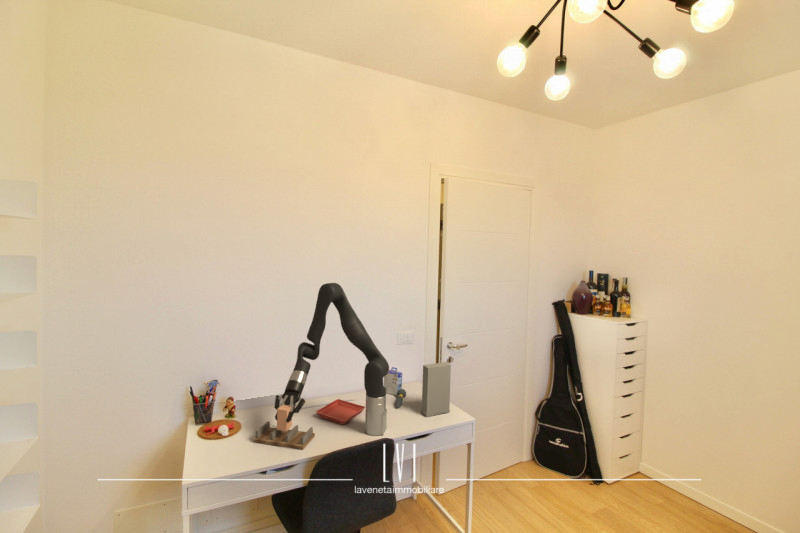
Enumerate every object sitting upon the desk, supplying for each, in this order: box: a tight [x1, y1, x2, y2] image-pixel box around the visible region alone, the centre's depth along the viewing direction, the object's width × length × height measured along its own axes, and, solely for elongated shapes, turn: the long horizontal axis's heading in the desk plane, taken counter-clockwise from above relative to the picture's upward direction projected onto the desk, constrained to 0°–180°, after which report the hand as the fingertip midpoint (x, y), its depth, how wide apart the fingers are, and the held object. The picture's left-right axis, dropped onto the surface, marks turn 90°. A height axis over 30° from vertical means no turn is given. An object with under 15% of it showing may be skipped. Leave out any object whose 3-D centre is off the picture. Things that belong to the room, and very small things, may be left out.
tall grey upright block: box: [420, 361, 452, 418], centre depth 182 cm, size 14×6×25 cm, turn 115°
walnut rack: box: [252, 421, 316, 451], centre depth 152 cm, size 23×11×4 cm, turn 78°
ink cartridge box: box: [383, 366, 403, 397], centre depth 206 cm, size 10×6×14 cm, turn 59°
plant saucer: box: [315, 398, 366, 425], centre depth 177 cm, size 18×18×3 cm
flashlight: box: [395, 388, 407, 409], centre depth 194 cm, size 20×5×5 cm, turn 175°
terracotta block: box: [276, 405, 293, 431], centre depth 152 cm, size 4×4×9 cm
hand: (282, 420), depth 150 cm, fingers closed on terracotta block, 4 cm apart
